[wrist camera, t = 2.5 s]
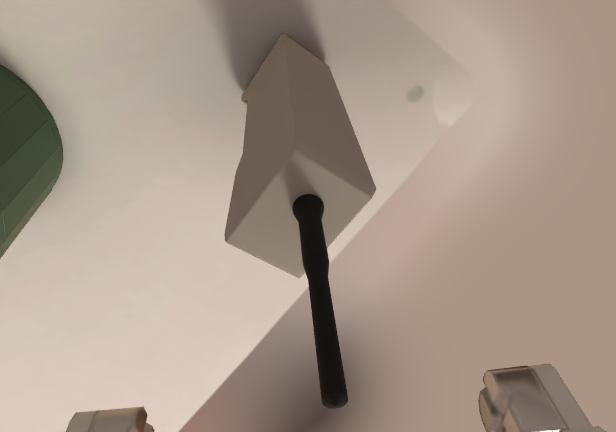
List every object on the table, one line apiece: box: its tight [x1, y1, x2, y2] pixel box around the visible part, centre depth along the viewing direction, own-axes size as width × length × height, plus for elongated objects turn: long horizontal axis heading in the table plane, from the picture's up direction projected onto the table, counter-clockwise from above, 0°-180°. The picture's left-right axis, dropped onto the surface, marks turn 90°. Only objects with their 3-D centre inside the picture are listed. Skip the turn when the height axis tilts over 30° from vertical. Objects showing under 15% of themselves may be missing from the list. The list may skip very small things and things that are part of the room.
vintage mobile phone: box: [225, 33, 376, 408], centre depth 21 cm, size 4×5×25 cm
